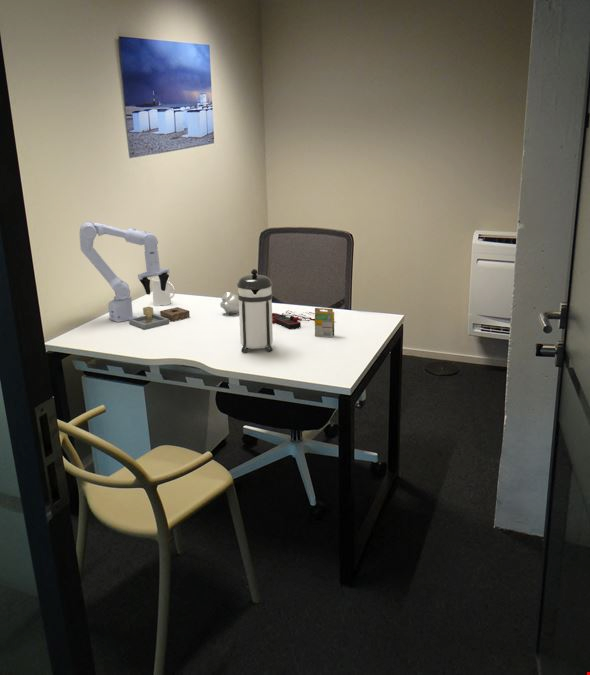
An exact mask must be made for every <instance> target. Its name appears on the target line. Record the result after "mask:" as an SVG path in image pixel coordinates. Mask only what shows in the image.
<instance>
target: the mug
mask: <svg viewBox="0 0 590 675" xmlns="http://www.w3.org/2000/svg"><path fill="white" fill-rule="evenodd" d="M151 287H152V288H151V290H152V304H154V305H153V306H156V305H165V306H168V305H167V304H169V305H171V304H172V299H173V298H174V296H175V294H176V289H175V287H174V285H173V284H172V283H171V282H170V277H169V278H168V280H167V283H166V288H165V291H162V290H161V285H160V279H159V276H154V277H153V278H152V277H151ZM171 288H172V290H173V293H172V295H171ZM170 303H171V304H170Z"/></svg>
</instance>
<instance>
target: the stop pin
mask: <svg viewBox="0 0 590 675" xmlns="http://www.w3.org/2000/svg"><path fill="white" fill-rule="evenodd" d="M142 312H143V316H145V318H146V323H151V322H152V315H154V314H155V313H154V307H152V306H145V307H142Z"/></svg>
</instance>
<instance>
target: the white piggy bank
mask: <svg viewBox="0 0 590 675" xmlns="http://www.w3.org/2000/svg"><path fill="white" fill-rule="evenodd" d="M219 306H220V308H222V309H223V310H224V312H226V313H227V314H229V315H235V314H238V313H239V299H238V294H234V293H232V291H226V292H225V293H224V294H223V295H222V297H221V302H220V304H219Z"/></svg>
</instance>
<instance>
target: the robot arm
mask: <svg viewBox="0 0 590 675" xmlns="http://www.w3.org/2000/svg"><path fill="white" fill-rule="evenodd" d="M97 235H98V237H101V236H103V235H108V236H109V235H110V236H113V237H117V238H122V239H124V240H125V241H126V242H127V243H130V244H134V245H137V246H138V245H139V246H143V248H144V260H145V267H146V271H145V272H141V273H139V274H137V277H138V278H137V279H138V280H139V282H140V283H141V284H142V287H143V288H144V290H145V294H146V295H148V296H149V295H151V279H150V278H152V277H159V279H160V285H161V290H162V291H165V288H166V283H167V280H168V278H169V279H170V268H168V267H167V268H161V265H160V258H159V250H158V244H159V241H158V239H157V237H156V236H155V235H154V234H153V233H151V232H149V231H145V230H144V231H141V230H137V228H135V227H132V228H128V229H126V230H124V229H121V228H118V227H115V226H110V225H108V224H104V223H99V222H91V221H85V222H83V223H82V224H81V225H80V229H79V246H80V251H81V252H82V254H83V255H84V256H85V257H86V258H87V259H88V260H89V262H90V263H91V264H92V265H93V267H94V268H95V269H96V270H97V271H98V272H99V273H100V275H101V276H102V277H103V279H104V280H106V282H107V283H108V284H109V286H110V287H111V289H112V290H113V291H114V294H115V296H114V297H113V300H112V299H111V301H109V302H108V305H107V306H108V314H109V316H108V317H109V318H108V319H109V320H111V321H114V322H116V323H120V322H125V321H129V319H133V318H137V316H136V315H134V313H133V311H134V310H133V304H132V303H133V301H132V296H131V290H130V286H129V284H128V283H127V282H126V281H124V280H122V279H121V277H119V276H118V275H117V274H116V272H114V270H113V269H112V268H111V267H110V265H109V264H108V263H107V262H106V261H105V259H104V258H102V256H101V255H100V253H98V251H97V250H96V249H95V248H94V241H95V239H96V237H97Z"/></svg>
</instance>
